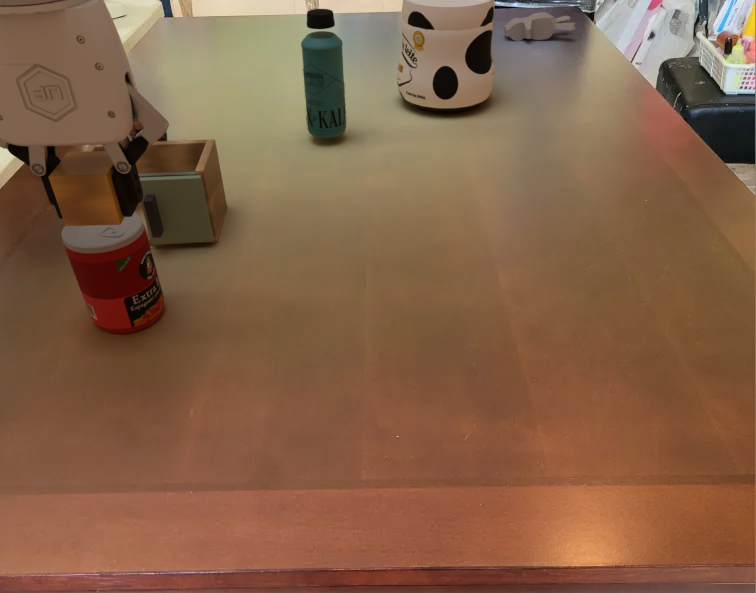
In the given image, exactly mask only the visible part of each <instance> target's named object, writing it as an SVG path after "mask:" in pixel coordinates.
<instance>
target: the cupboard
mask: <svg viewBox="0 0 756 593" xmlns="http://www.w3.org/2000/svg"><path fill="white" fill-rule="evenodd" d="M87 151H105V149H104V147H103V145H102V144H100V145H87V147H86V148H85V150H83V152H87ZM136 167H137V171H138V175H139V178H141V177H167V176H193V175H201V177H202V182H203V187H204V192H205V197H206V202H207V207H208V212H209V216H210V221H211V226H212V231H213V236H214V240H213V242H194V243H193V244H210V243H219V239H220V235H221V232H222V228H223V224H224V221H225V217H226V213H227V210H228V203H227V198H226V193H225V187H224V180H223V175H222V171H221V164H220V161H219V153H218V148H217V142H216V139H187V140H186V139H185V140H184V139H183V140H167V141H156V142H155V143H154V144H152V145H151V146H150V147H149V148H147V149H146V151H145V152H144V153H143V155H142V156H141V157H140V158H139V160H138V161H137V162H136ZM134 212H135V213H136V214H138V215H139V216H140V217H141V219H142V222H143V224H144V227H145V230H146V233H147V237H148V240H149V244H150V246H159V245H160V246H161V245H162V246H163V245H166V244H152V243H151V239H150V235H149V232H148V228H147V224H146V221H145V217H144V213H143V209H142V206H141V202H140V203H139V204H138V206H137V208H136V209H135V211H134ZM186 244H190V243H170V244H169V245H186Z"/></svg>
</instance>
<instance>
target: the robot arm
mask: <svg viewBox="0 0 756 593" xmlns="http://www.w3.org/2000/svg"><path fill="white" fill-rule="evenodd" d="M120 36H121V35H120V34H119V31H118V29H117V27H116V24H115V22H114V19H113V17H112V15H111V13H110V11H109V9H108V6H107V4H106V3H105V1H104V0H0V148H2V149H4V150H5V149H6V150H7V151H8V152H9V154H10V155H12V156H13V157H15V158H16V159H18V160H19V161H21V162H22V163H24V164H26V165H27V166H28V167H29V169H30V171H31V172H32V174H33V175H35V176H36V177H37V176H38V177H40V179H41V182H42V185H43V187H44V190H45V193H46V195H47V198H48V201H49V203H50V205H52V206H54V209H55V212H56V214H57V217H58V219H61V220H63V217H62V214H61V211H60V208H59V206H58V203H57V200H56V197H55V194H54V191H53V189H52V186H51V183H50V180H49V175H50V174H51V173H52V172H53V170H54V169H55V168H56V167H57V165H58V164H59V163H60V162H61V160H62V159H61V158H60V157H59V149H58V147H62V146H63V147H64V146H65V147H67V146H89V145H100V144H102V145H103V147H104V149H105V151H106V153H107V154H108V156H109V158H110V160H111V161H112V163H113V165H114V168H115V171H114V173H113V174H112V181H113V184H114V187H115V191H116V194H117V198H118V201H119V205H120V208H121V212H122V215H124V217H132V215H133V213H134V211H135V209H136V208H137V206H138V204H139V203H140V202H141V201H142V199H143V190H142V186H141V182H140V178H139V175H138V171H137V167H136V162H137V161H138V160H139V158H140V157H141V156H142V155H143V153H144V152H145V151H146V149H147V148H149V147H150V146H151V145H152V144H154V143H155V142H156V141H157V140H158V139H159V138H161V137H162V136H163V135H164V134H165V132H167V131H168V129H169V127H170V123H169V121H168V120H167V118H166V117H164V115H162V114H161V113H160V112H159V111H158V110H157V109H156V108H155V107H154V106H153V105H152V104H151V103H150V102H149V101H148V100H147V99H146V98H145V97H144V96H143V95H142V94H141V93H140V92H139V91H138V88H137V84H136V81H135V78H134V75H133V71H132V68H131V65H130V62H129V58H128V56H127V52H126V50H125V48H124V44H123V42H122V39H121V37H120ZM136 120H138V121H139V122H140V123H141V124H142V125H143V129H142V130H141V131H140V132H138V133H137V134H136V136H135V137H134V138H133V139H132V138H131V136H130V134H129V133H130V132H131V131H132V125H133V122H134V121H136Z"/></svg>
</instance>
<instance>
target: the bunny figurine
mask: <svg viewBox="0 0 756 593" xmlns="http://www.w3.org/2000/svg"><path fill="white" fill-rule="evenodd" d="M570 21H571V16H570V15H562V16H559V17H555V16H553V15H552V14H551V13H549V12H545V11H544V12H542V11H541V12H535V13H532V14H530V15H528V16H525V17H514V18H512V19H511V20H509V21H508V23H507V24H504V25H503V32H504V34H505V37H507V38H508V37H509V38H510V39H511V40H513V41H514V42H515V41H516V42H520V41H522V40H524V39H527V40H534V41H543V40H546V41H547V40H549V39H550V38H551V37H552V35H553V34H554V32H555V31H556V30H558V31H559V30H560V31H575V30H576V23H575V22H570Z"/></svg>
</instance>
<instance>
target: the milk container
mask: <svg viewBox="0 0 756 593" xmlns="http://www.w3.org/2000/svg"><path fill="white" fill-rule="evenodd" d="M494 15H495V0H402V3H401V18H402V19H401V52H400V56H399V60H398V64H397V69H396V83H397V90H398V93H399V94H400V96H401V98H402V99H403V100H404V101H405V102H407V104H409V105H411V106H413V107H416V108H419V109H422V110H425V111H433V112H457V111H465V110H469V109H472V108H475V107H478V106H480V105H481V104H483V103H484V102H485V101H487V100H488V99H489V97H490V96H491V93H492V90H493V87H494V81H495V64H494V59H493V52H492V43H493V42H492V41H493V32H494V25H495V24H494V22H495V21H494Z"/></svg>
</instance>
